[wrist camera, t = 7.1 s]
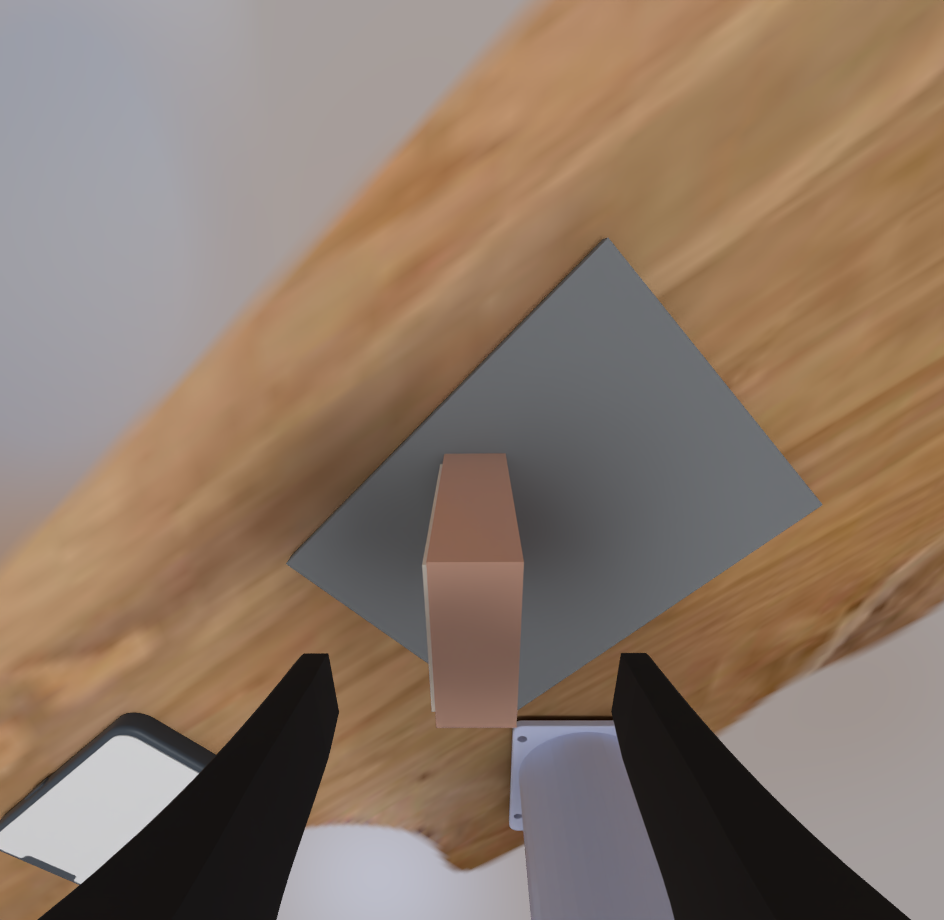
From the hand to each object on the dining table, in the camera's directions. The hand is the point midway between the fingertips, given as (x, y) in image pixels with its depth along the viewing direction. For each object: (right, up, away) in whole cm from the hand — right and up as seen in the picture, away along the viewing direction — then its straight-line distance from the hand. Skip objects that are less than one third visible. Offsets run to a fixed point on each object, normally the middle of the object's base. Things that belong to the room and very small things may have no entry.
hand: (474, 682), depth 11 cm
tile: (0, +3, +8) cm, 8 cm away
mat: (+3, +3, +8) cm, 9 cm away
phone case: (-22, -15, +17) cm, 32 cm away
